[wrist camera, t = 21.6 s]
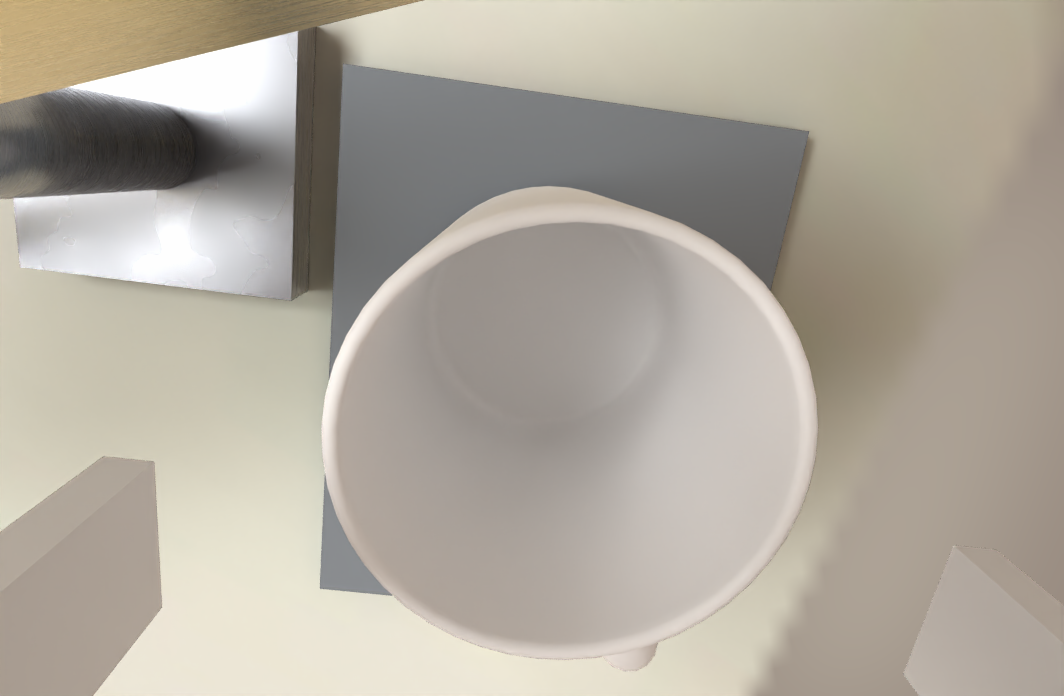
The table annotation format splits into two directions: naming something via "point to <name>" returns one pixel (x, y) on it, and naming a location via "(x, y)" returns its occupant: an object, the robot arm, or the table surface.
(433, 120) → the felt mat
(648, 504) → the mug
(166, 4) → the lever
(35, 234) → the lever post
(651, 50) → the table surface
